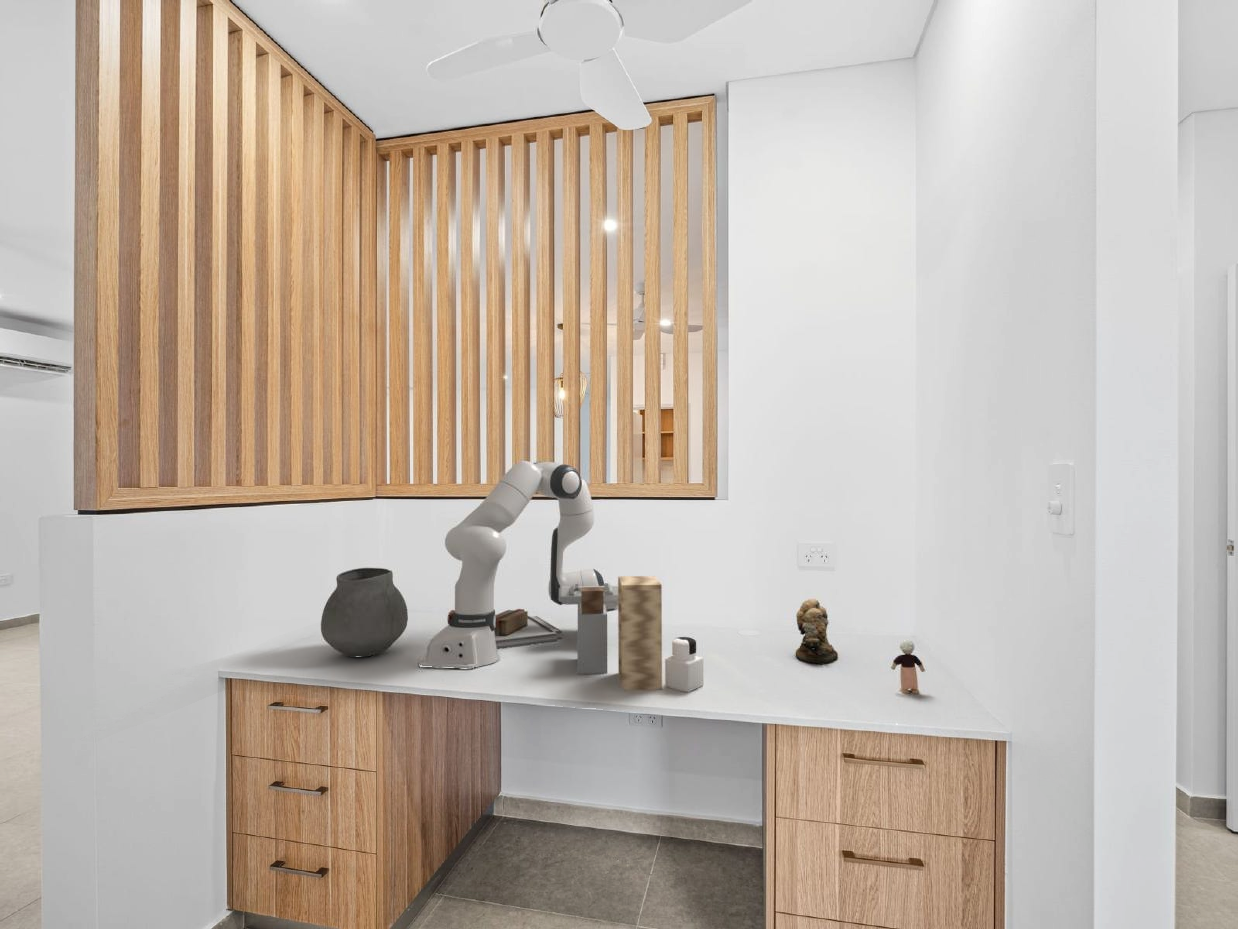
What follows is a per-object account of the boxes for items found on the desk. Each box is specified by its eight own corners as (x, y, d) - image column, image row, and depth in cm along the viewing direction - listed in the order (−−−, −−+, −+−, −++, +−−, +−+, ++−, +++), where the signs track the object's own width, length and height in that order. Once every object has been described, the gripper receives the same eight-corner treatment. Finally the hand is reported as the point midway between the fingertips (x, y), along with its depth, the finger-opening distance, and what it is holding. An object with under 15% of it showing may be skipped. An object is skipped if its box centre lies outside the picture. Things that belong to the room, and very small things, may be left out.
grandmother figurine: (918, 688, 157) (918, 637, 157) (926, 694, 153) (926, 641, 154) (888, 689, 157) (887, 638, 157) (895, 694, 153) (895, 642, 153)
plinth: (577, 673, 170) (577, 614, 170) (577, 659, 184) (577, 603, 184) (607, 673, 170) (607, 613, 171) (605, 658, 184) (605, 603, 185)
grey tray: (451, 632, 218) (451, 610, 218) (534, 623, 232) (534, 602, 232) (472, 654, 191) (472, 629, 192) (564, 642, 205) (564, 619, 205)
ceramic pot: (300, 662, 182) (301, 575, 182) (358, 641, 205) (359, 563, 206) (371, 669, 175) (372, 578, 175) (423, 646, 198) (424, 566, 198)
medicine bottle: (680, 680, 165) (680, 633, 165) (704, 685, 160) (703, 638, 160) (664, 687, 159) (664, 639, 159) (688, 693, 155) (688, 643, 155)
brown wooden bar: (581, 613, 171) (581, 591, 171) (581, 600, 188) (581, 580, 189) (603, 613, 171) (603, 590, 171) (601, 600, 189) (601, 580, 189)
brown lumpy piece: (836, 668, 175) (835, 606, 175) (792, 664, 179) (791, 603, 179) (838, 650, 192) (837, 594, 192) (798, 647, 196) (797, 592, 196)
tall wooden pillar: (622, 690, 157) (621, 585, 157) (618, 673, 171) (618, 576, 171) (662, 689, 157) (661, 584, 158) (655, 672, 171) (654, 576, 172)
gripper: (558, 592, 204) (557, 576, 192) (622, 590, 205) (624, 575, 193) (558, 611, 200) (556, 596, 188) (622, 609, 201) (625, 595, 190)
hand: (591, 585), depth 191 cm, fingers open, 8 cm apart
